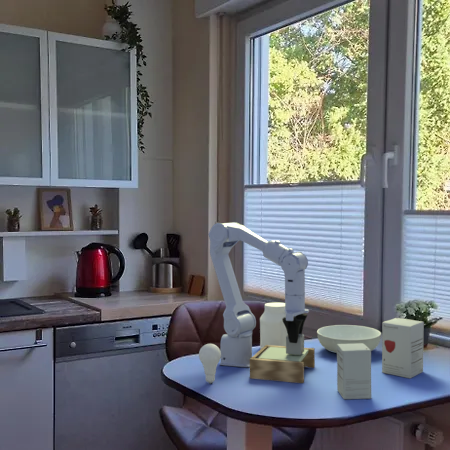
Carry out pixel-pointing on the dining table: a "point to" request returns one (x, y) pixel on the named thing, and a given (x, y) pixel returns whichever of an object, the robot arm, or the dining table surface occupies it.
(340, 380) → the supplement box
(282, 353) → the hatch
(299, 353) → the gray block
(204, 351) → the lightbulb
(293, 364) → the hatch frame
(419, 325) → the supplement box
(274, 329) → the jar
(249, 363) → the robot arm
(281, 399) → the dining table surface
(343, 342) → the serving bowl
